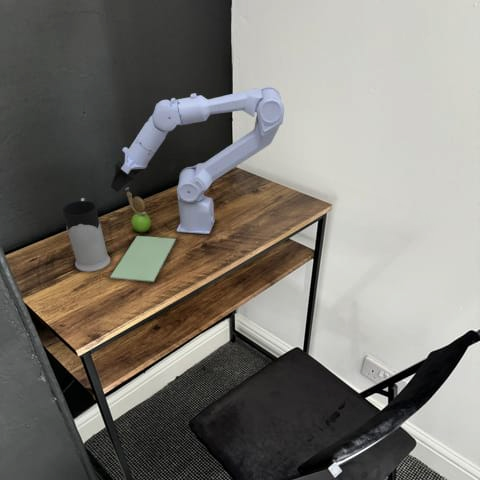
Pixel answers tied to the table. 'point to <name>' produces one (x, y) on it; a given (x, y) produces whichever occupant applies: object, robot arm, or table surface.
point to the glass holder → (86, 235)
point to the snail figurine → (139, 214)
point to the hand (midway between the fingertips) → (119, 184)
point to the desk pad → (143, 259)
